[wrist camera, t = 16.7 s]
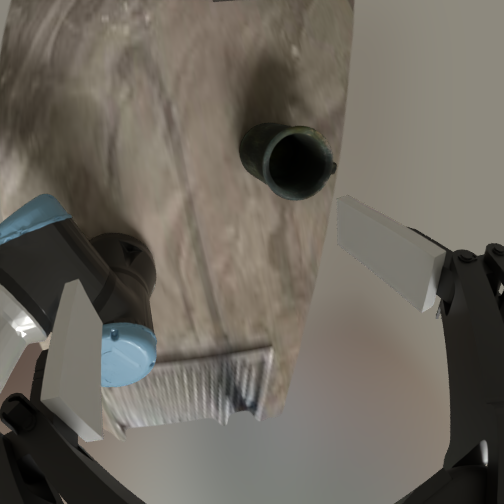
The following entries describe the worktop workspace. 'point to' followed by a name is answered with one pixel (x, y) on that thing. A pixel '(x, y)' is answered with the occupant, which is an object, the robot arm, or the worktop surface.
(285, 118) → the worktop surface
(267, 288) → the worktop surface
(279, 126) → the mug
